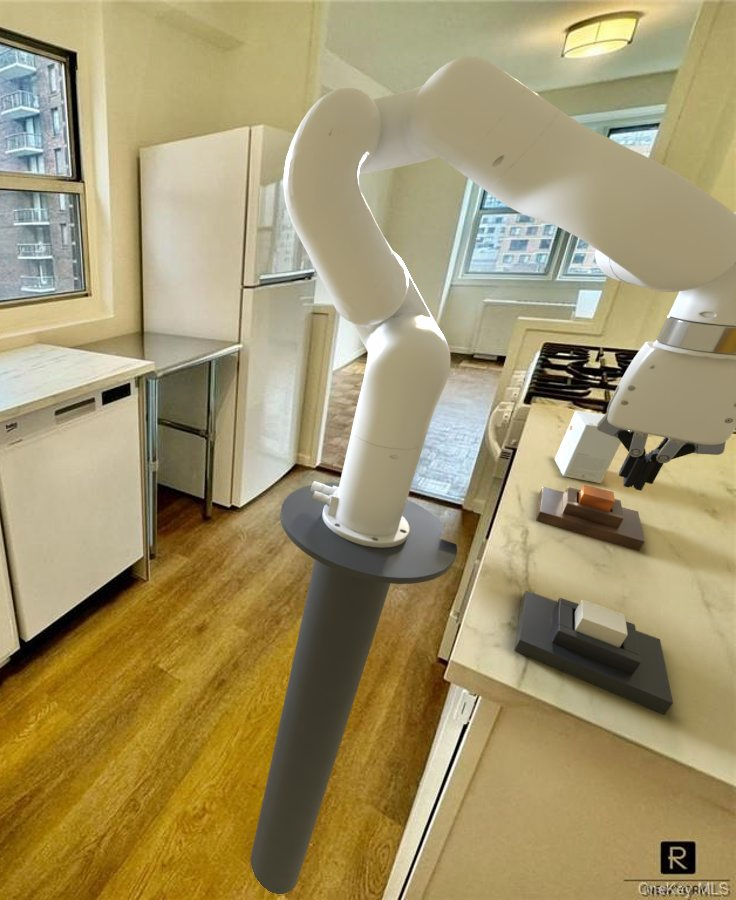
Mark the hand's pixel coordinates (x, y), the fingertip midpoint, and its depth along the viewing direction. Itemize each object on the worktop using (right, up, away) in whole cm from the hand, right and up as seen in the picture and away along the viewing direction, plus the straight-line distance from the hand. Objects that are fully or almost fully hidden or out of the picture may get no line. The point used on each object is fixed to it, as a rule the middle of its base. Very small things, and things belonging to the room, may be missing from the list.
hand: (631, 484), depth 60 cm
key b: (+9, -4, +15) cm, 18 cm away
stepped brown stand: (+9, -7, +16) cm, 20 cm away
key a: (-12, -15, -8) cm, 21 cm away
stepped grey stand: (-12, -18, -7) cm, 23 cm away
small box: (+21, 0, +31) cm, 37 cm away
